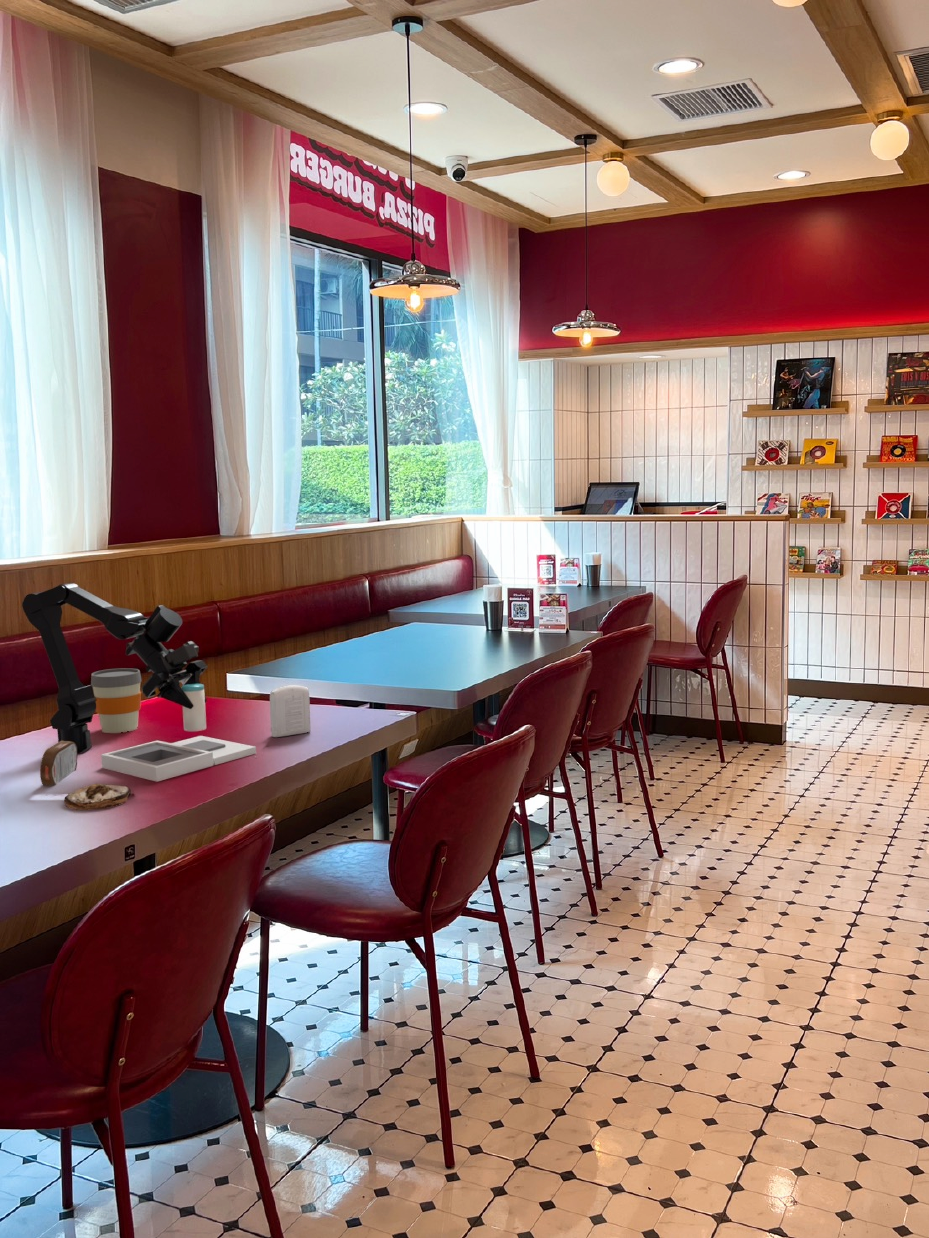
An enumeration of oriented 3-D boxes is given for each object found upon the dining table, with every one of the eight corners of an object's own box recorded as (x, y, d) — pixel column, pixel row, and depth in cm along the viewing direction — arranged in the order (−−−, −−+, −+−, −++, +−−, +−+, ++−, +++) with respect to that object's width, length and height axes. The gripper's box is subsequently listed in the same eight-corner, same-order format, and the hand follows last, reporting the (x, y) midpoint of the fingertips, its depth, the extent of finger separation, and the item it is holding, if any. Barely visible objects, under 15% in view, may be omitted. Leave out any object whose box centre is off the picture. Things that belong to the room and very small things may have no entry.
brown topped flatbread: (100, 789, 235) (98, 770, 234) (151, 797, 228) (150, 778, 227) (43, 808, 222) (41, 788, 222) (96, 818, 215) (94, 797, 214)
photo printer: (306, 729, 282) (303, 681, 280) (313, 732, 278) (311, 684, 277) (268, 735, 276) (266, 687, 275) (275, 738, 273) (273, 689, 271)
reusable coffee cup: (144, 732, 284) (140, 674, 282) (92, 736, 281) (88, 678, 279) (145, 721, 296) (141, 666, 294) (96, 725, 293) (92, 670, 291)
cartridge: (184, 732, 250) (181, 688, 249) (184, 727, 255) (181, 684, 254) (206, 730, 252) (204, 687, 250) (206, 725, 256) (203, 683, 255)
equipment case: (102, 771, 247) (101, 754, 246) (201, 745, 268) (200, 729, 267) (157, 785, 234) (156, 767, 234) (256, 757, 256) (255, 740, 255)
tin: (67, 772, 247) (64, 736, 246) (81, 772, 247) (78, 735, 246) (39, 792, 232) (36, 753, 231) (54, 792, 232) (51, 753, 231)
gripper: (149, 638, 243) (195, 689, 241) (198, 626, 260) (241, 674, 258) (122, 672, 247) (166, 723, 245) (172, 657, 264) (214, 705, 262)
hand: (198, 705), depth 252 cm, fingers closed on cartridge, 5 cm apart
